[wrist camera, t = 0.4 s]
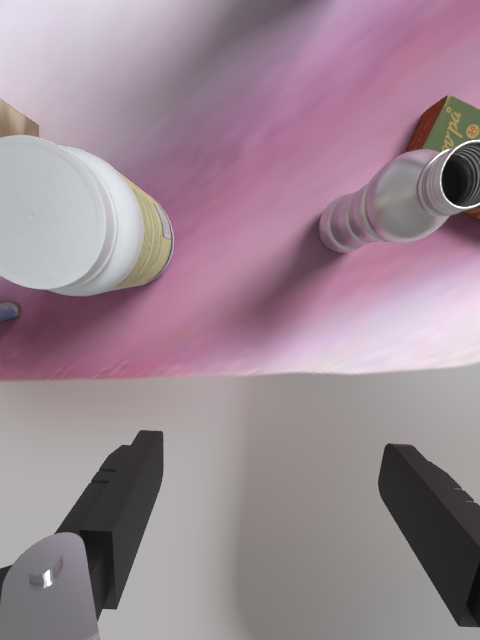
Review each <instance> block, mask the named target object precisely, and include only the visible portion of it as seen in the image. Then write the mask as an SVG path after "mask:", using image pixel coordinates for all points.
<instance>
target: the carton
mask: <svg viewBox="0 0 480 640" xmlns="http://www.w3.org/2000/svg"><path fill="white" fill-rule="evenodd" d="M471 140H480V110H479V109H477V108H475V107H473V106H471V105H469V104H467V103H465V102H463V101H461V100H459V99H457V98H455V97H453V96H451V95H448V96H446V97H444V98H442V99H441V100H440V101H438V102H437V103H436V104H434V105H433V106H431V107H430V108H429V109H428V110H426V111H425V112H424V114H423V116H422V118H421V120H420V122H419V124H418V126H417V128H416V131H415V133H414V135H413V137H412V139H411V141H410V143H409V146H408V148H407V150H406V152H410V151H415V150H420V149H430V150H435V151H438V152H440V153H441V152H443V151H445V150H447V149H450V148H453V147H455V146H457V145H459V144H461V143H463V142H467V141H471ZM406 152H405V153H406ZM462 212H464V213H466V214H468V215H470V216H473V217H475V218H477V219H479V220H480V205H479V206H477V207H475V208H473V209H470V210H466V211H462Z"/></svg>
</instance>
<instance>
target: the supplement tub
mask: <svg viewBox="0 0 480 640" xmlns="http://www.w3.org/2000/svg"><path fill="white" fill-rule="evenodd" d="M173 250H174V234H173V229H172V225H171V222H170V220H169V218H168V216H167V214H166V212H165V211H164V209H163V208H162V207H161V205H160V204H159V203H158V202H157V201H156V200H155V199H153V198H152V197H151V196H149V195H148V194H146V193H145V192H144V191H142V190H141V189H140V188H139V187H137V186H136V185H135V184H133V183H132V182H131V181H129V180H128V179H127V178H125V177H124V176H123V175H122V174H120V173H119V172H118V171H116V170H115V169H114V168H113V167H112V166H111V165H109V164H108V163H107V162H105V161H104V160H102V159H101V158H99V157H97V156H95V155H93V154H91V153H89V152H87V151H84V150H81V149H78V148H75V147H70V146H64V145H57V144H55V143H53V142H51V141H48V140H46V139H43V138H39V137H35V136H29V135H12V136H6V137H2V138H0V276H2V277H3V278H5V279H7V280H8V281H10V282H13V283H15V284H18V285H20V286H23V287H27V288H32V289H42V290H49V291H51V292H54V293H58V294H62V295H68V296H91V295H96V294H100V293H103V292H108V291H114V290H119V289H124V288H129V287H135V286H141V285H144V284H147V283H149V282H151V281H153V280H154V279H156V278H157V277H158V276H159V275H160V274H161V273H162V272H163V271H164V270H165V269H166V267H167V266H168V264H169V262H170V260H171V258H172V254H173Z"/></svg>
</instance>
